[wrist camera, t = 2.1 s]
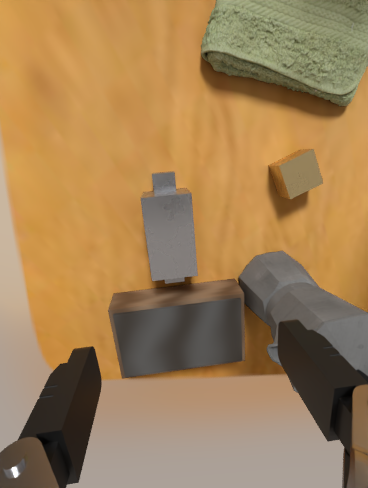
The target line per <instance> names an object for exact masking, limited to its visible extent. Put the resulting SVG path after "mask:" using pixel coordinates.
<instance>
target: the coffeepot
mask: <svg viewBox="0 0 368 488" xmlns="http://www.w3.org/2000/svg"><path fill="white" fill-rule="evenodd" d="M239 286H240V288H241V289H242V291H243V292H244V303H245V304H246V305H247V306H248V307H249V308H250V309H251V310H252V311H253V312H254V313H255V314H256V315H257V316H258V317H259V318H260V319H262V320H263V321H264V322H265V323H266V324H267V325H269V326H270V327H271V334H272V338H273V340H274V343H273V344H270V345H268V347H267V352H268V354H269V356H270V358H271V359H272V361H274V362H276V363H278V364H279V365H281V363H280V360H279V357H278V351H277V348H278V324H279V322H280V321H287V320H294V319H297V320H299V321H300V322H301V323H302V324H303V325H304V327H305V328H306V329H307V330H314V331H316V332H317V333H319V334H321V335H322V336H324V337H325V338H326V339H327V340H328V341H329V342H330V343H331V344H332V345H333V348H334V347H335V349H336V350H337V351H338V352H339V353H340V355H342V356H343V357H344V358H345V359H346V360H347V361H348V362H349V363H350V364H351V365H352V366H353V368H354V369H355V370H356V371H357V372H358V373H359V374H360V375H361V376H362V377H363V378H364V379H365V380H366V381H367V382H368V313H367V312H365V311H363V310H361V309H360V308H358V307H356V306H354V305H352V304H350V303H348V302H346V301H344V300H342V299H340V298H339V297H337V296H335V295H333V294H331V293H329V292H327V291H325V290H323V289H321V288H320V287H319V286H318V285H317V284H316V282H315V281H314V280H313V279H312V277H311V276H310V275H309V274H308V272H307V271H306V270H305V269H304V267H303V266H302V265H301V264H300V263H298V262H297V261H295V260H294V259H293V258H291V257H290V256H289V255H287V254H286V253H285V252H283V251H278V252H269V253H265V254H262V255H258V256H255V257H254V258H253V259H252V261H251V262H250V263H249V264H248V265H247V266H246V267H245V269H244V270H243V272H242V274H241V275H240V276H239ZM281 366H282V365H281ZM289 380H290V378H289ZM290 382H291V380H290ZM291 385H292V387H293V389H294V391H296V392H297V390H296V388H295V387H294V385H293V383H292V382H291Z"/></svg>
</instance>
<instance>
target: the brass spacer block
mask: <svg viewBox="0 0 368 488" xmlns="http://www.w3.org/2000/svg"><path fill="white" fill-rule="evenodd" d="M268 166H269V169H270V171H271V174H272V177H273V180H274V183H275V186H276V189H277V191H278V194H279V196H281V197H284V198H287V199H292V198H294V197H296V196H298V195H300V194H302V193H304V192H306V191H309V190H311V189H313V188H315V187H317V186H319V185H321V184H323V180H322V177H321V173H320V170H319V166H318V163H317V159H316V156H315V152H314V149H303V150H298V151H296V152H294V153H292V154H290V155H288V156H286V157H284V158H282V159H280V160H278V161H276V162H274V163H272V164H270V165H268Z"/></svg>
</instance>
